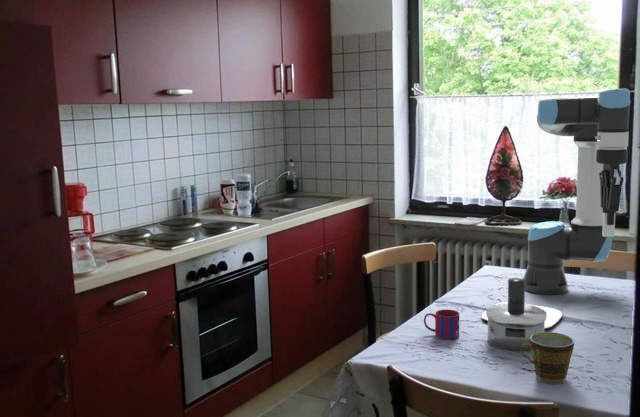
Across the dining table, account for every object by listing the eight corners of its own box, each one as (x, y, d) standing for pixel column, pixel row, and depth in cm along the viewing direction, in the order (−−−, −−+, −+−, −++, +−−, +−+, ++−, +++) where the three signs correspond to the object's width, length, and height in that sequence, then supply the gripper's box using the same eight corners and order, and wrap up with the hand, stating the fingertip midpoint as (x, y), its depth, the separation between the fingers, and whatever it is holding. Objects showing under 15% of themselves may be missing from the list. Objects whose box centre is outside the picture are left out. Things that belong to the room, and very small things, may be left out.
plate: (567, 314, 207) (567, 309, 207) (547, 336, 189) (548, 330, 189) (499, 304, 219) (499, 299, 219) (474, 323, 201) (474, 318, 201)
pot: (489, 327, 197) (490, 304, 196) (543, 331, 192) (543, 307, 191) (485, 352, 178) (485, 327, 177) (544, 357, 173) (545, 331, 172)
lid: (487, 305, 194) (488, 271, 192) (545, 309, 189) (546, 274, 187) (484, 323, 179) (484, 286, 177) (547, 327, 174) (548, 290, 172)
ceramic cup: (559, 368, 166) (561, 330, 164) (581, 385, 156) (582, 344, 155) (510, 373, 164) (511, 334, 163) (529, 390, 154) (530, 349, 153)
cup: (456, 341, 187) (456, 317, 185) (421, 337, 191) (421, 314, 189) (461, 333, 193) (461, 310, 191) (427, 329, 197) (427, 307, 195)
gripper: (590, 146, 182) (587, 231, 186) (604, 150, 169) (600, 241, 173) (619, 146, 181) (615, 231, 185) (635, 150, 168) (630, 241, 172)
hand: (608, 236), depth 179 cm, fingers closed
